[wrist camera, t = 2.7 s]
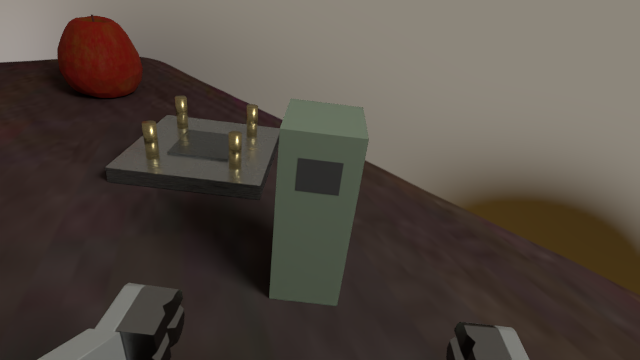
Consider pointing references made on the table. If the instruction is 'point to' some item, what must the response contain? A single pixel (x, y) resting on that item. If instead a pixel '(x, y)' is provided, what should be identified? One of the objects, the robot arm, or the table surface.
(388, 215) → the table surface
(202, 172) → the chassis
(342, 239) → the block
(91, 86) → the apple
